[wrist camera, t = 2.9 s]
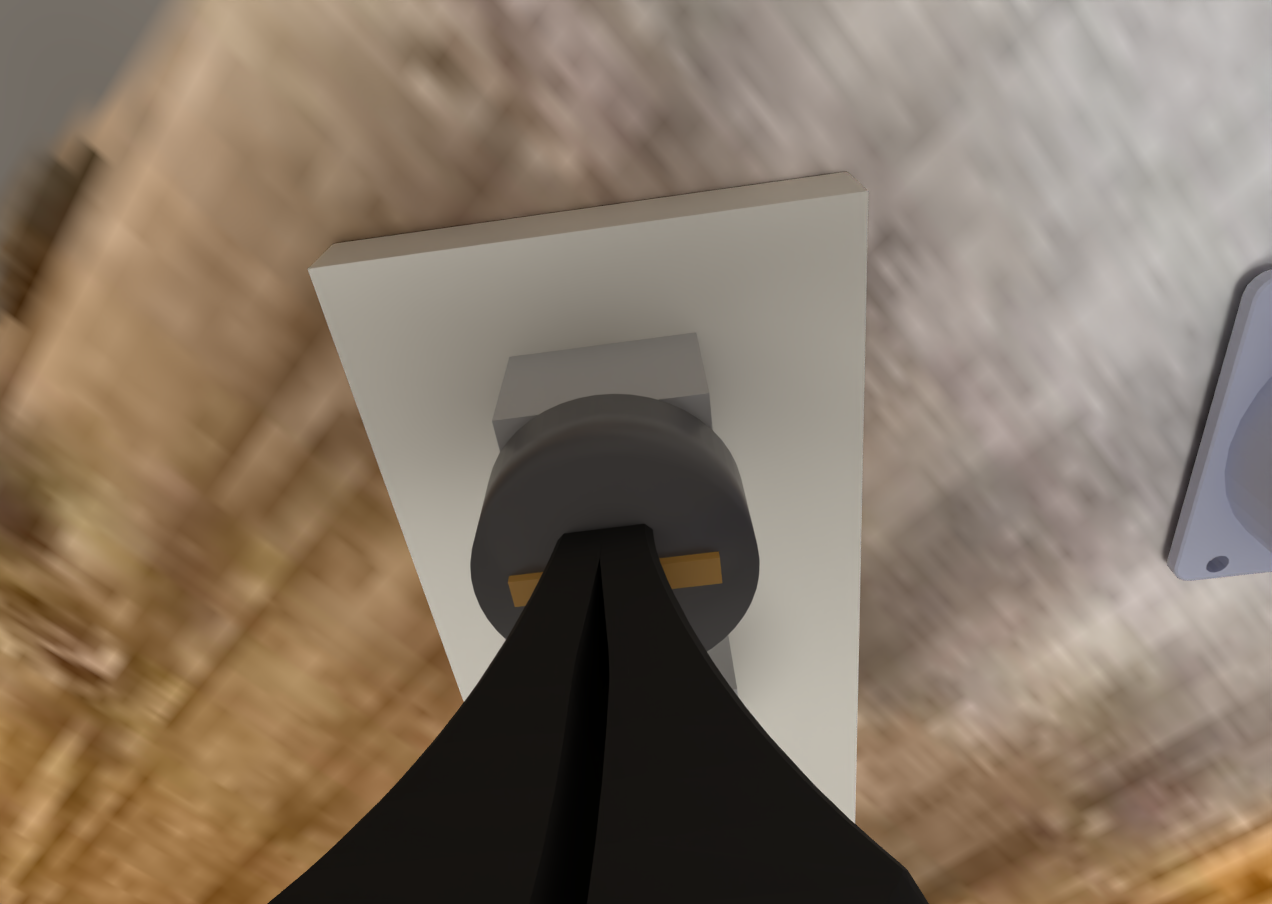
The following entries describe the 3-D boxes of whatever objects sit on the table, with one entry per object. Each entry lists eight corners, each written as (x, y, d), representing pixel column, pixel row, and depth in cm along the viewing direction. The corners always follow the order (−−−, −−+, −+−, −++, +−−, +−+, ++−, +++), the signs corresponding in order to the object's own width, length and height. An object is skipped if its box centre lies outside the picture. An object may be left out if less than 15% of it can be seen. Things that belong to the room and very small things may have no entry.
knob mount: (847, 171, 15) (915, 232, 12) (842, 848, 26) (875, 979, 23) (333, 243, 15) (253, 322, 12) (547, 877, 27) (537, 1009, 24)
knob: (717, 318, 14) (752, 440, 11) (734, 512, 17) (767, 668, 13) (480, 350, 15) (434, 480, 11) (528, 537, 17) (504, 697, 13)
